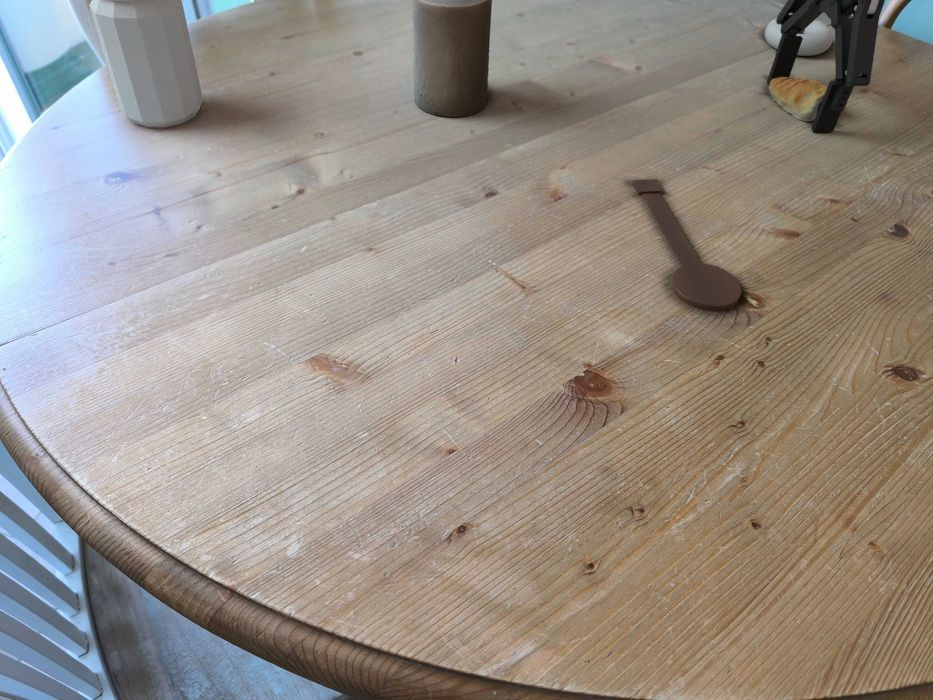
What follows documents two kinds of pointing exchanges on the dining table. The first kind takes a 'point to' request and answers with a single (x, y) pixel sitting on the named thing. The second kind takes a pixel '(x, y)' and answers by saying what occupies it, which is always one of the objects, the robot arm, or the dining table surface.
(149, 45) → the jar
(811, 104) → the pastry
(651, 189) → the spoon
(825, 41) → the donut
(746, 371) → the dining table surface
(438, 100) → the pillar candle
